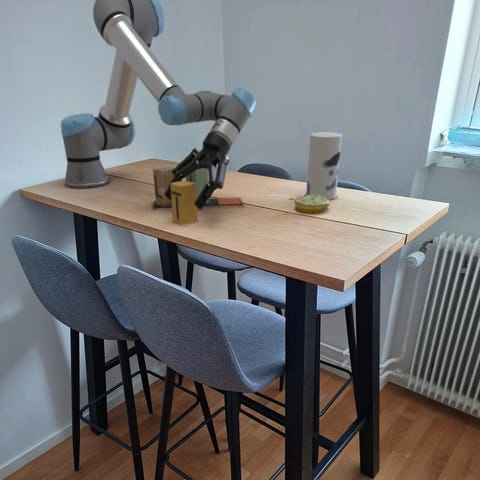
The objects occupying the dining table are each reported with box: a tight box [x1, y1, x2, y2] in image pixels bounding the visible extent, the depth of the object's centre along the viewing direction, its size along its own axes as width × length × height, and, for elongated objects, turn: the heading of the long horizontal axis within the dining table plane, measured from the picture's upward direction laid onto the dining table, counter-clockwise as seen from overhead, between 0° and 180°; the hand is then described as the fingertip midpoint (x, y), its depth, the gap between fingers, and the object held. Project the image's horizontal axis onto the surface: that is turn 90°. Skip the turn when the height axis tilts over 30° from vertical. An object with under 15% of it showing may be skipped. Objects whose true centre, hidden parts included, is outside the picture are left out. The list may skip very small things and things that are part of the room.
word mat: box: [153, 197, 243, 210], centre depth 151 cm, size 28×9×1 cm, turn 97°
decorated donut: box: [294, 194, 331, 214], centre depth 146 cm, size 10×11×4 cm
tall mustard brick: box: [170, 179, 198, 225], centre depth 133 cm, size 5×5×11 cm
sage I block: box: [185, 168, 210, 204], centre depth 148 cm, size 5×5×11 cm
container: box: [305, 131, 343, 201], centre depth 154 cm, size 10×10×20 cm
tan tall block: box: [152, 165, 175, 207], centre depth 147 cm, size 5×5×11 cm
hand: (182, 202), depth 133 cm, fingers open, 13 cm apart
